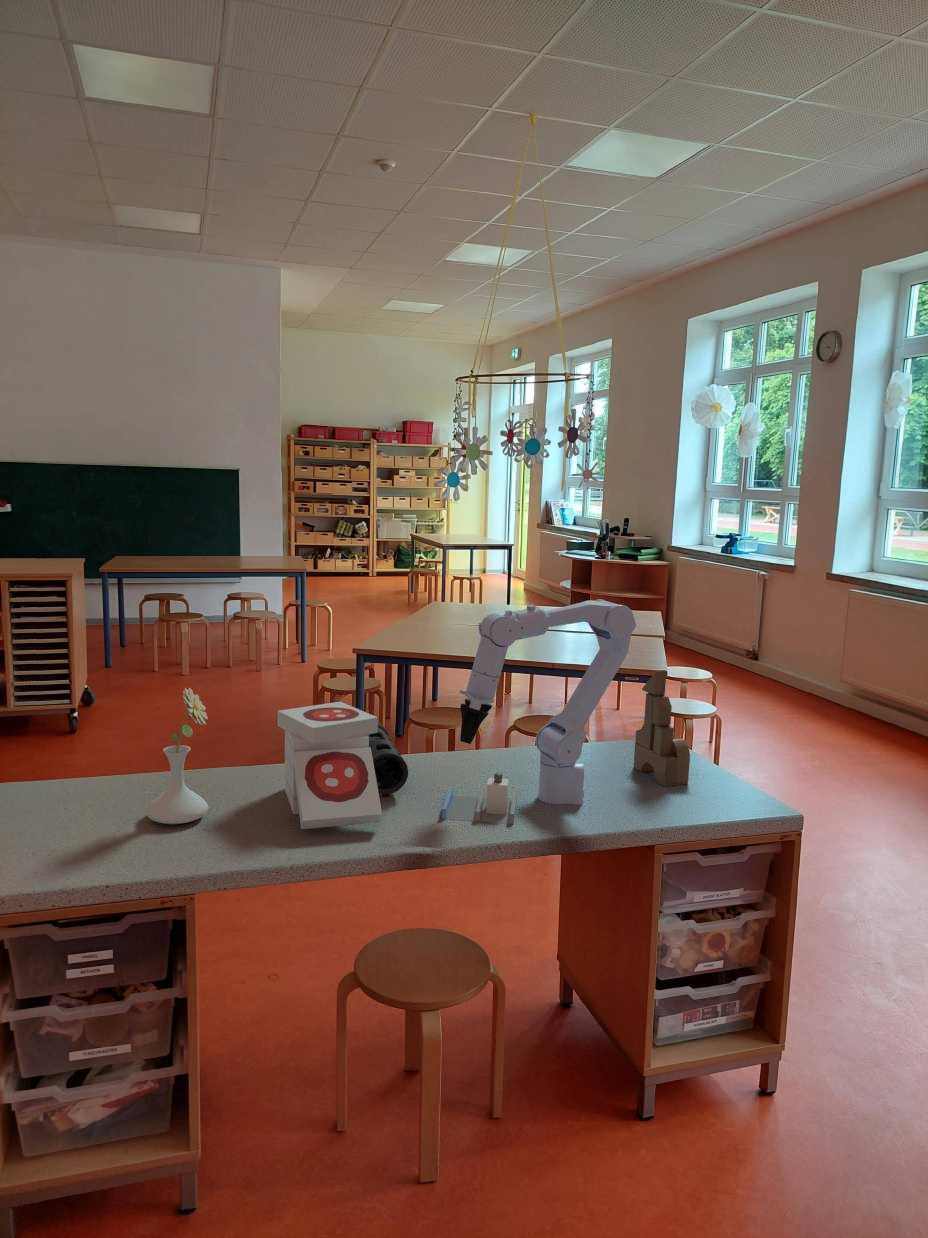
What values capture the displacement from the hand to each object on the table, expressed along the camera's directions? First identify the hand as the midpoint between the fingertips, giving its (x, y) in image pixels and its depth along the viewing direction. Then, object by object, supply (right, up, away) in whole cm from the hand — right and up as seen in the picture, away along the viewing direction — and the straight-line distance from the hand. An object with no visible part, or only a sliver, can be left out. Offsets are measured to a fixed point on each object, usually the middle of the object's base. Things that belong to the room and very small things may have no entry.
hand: (467, 739), depth 176 cm
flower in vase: (-55, -15, -5) cm, 57 cm away
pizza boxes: (-27, -14, +2) cm, 31 cm away
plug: (+6, -14, +2) cm, 16 cm away
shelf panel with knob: (+3, -15, +2) cm, 16 cm away
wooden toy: (+45, -13, +30) cm, 55 cm away
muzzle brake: (-20, -12, +22) cm, 32 cm away
